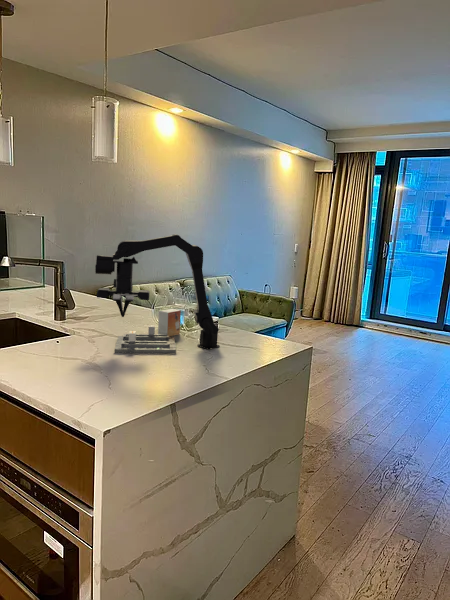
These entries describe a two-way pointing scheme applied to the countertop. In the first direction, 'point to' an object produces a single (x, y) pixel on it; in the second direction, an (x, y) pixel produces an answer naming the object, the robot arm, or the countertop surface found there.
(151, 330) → the fader cap grey
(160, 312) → the small box
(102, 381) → the countertop surface
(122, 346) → the panel
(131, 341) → the block
